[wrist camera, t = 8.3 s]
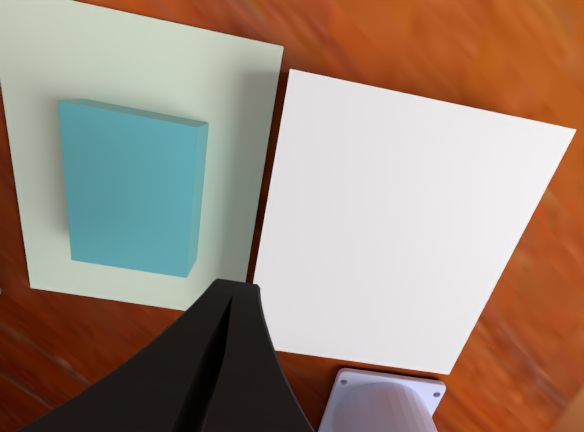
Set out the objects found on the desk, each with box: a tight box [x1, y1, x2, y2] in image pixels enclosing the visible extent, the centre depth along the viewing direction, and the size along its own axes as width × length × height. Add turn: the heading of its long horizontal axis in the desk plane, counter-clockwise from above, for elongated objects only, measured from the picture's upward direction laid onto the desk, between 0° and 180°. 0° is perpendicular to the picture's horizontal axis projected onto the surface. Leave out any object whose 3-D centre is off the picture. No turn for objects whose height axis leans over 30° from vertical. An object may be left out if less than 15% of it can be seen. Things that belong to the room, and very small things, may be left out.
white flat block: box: [253, 69, 576, 375], centre depth 17 cm, size 14×12×4 cm
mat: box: [0, 0, 284, 311], centre depth 17 cm, size 16×13×1 cm
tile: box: [58, 99, 209, 278], centre depth 16 cm, size 8×6×2 cm
